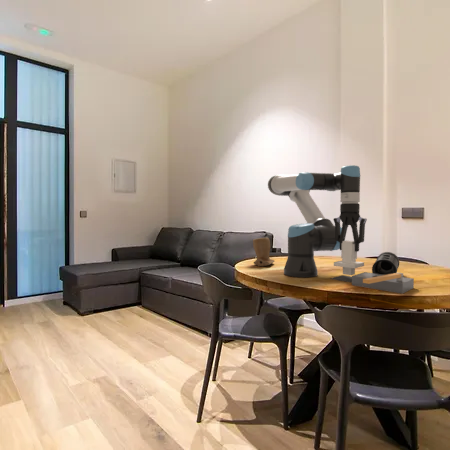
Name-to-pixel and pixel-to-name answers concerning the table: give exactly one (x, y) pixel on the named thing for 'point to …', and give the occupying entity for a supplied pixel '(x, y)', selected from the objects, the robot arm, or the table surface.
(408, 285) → the socket block
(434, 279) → the table surface
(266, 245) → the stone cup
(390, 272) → the muzzle brake
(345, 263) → the plug
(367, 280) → the tan wooden bar
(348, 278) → the mat
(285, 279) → the table surface
